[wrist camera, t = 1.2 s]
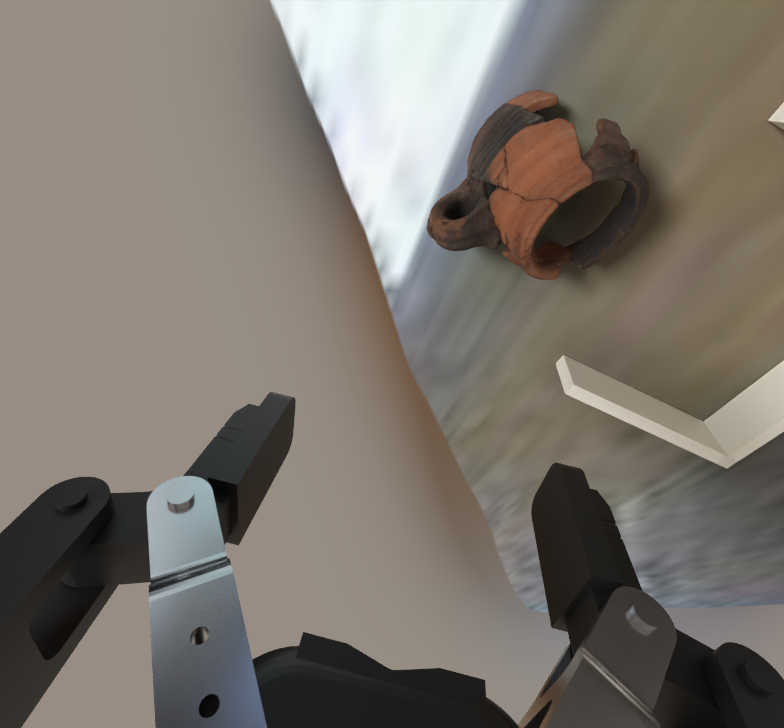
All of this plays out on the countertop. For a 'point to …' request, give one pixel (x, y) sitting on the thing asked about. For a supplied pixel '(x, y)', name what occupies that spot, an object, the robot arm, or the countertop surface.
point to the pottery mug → (537, 187)
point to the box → (704, 438)
